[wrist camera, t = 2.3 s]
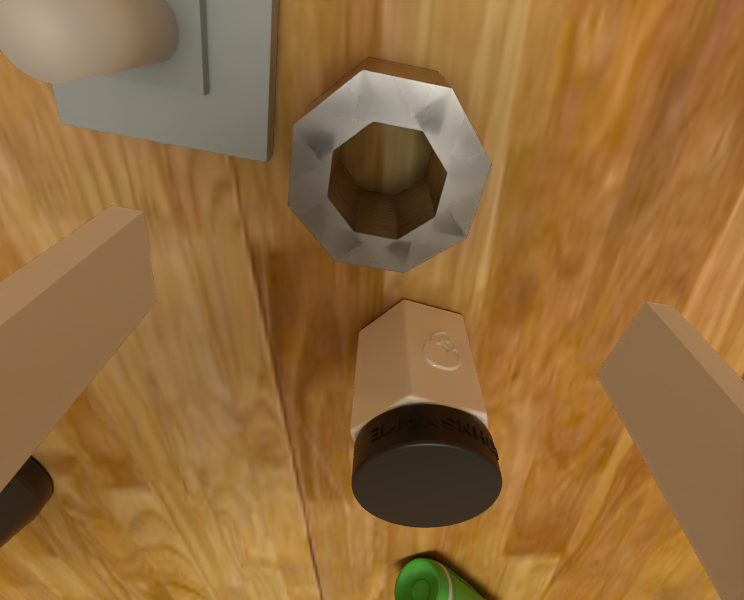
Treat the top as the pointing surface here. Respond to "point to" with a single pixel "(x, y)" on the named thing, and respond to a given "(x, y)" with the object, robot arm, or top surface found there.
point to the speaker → (432, 583)
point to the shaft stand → (155, 67)
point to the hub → (375, 210)
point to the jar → (420, 421)
